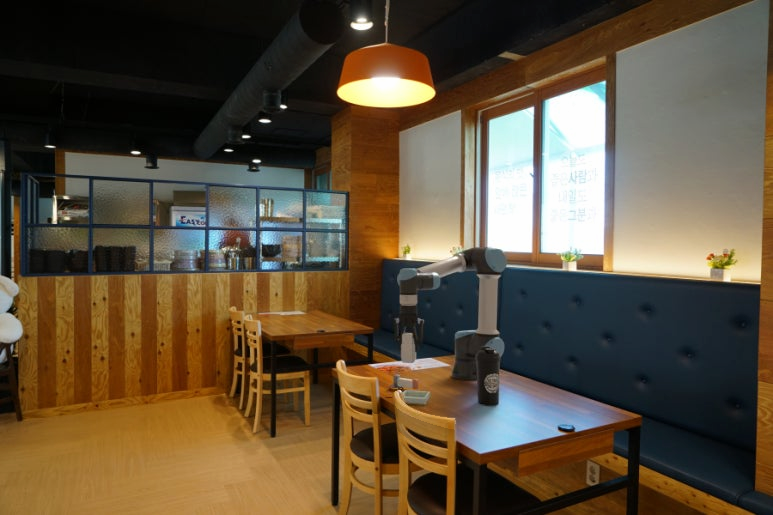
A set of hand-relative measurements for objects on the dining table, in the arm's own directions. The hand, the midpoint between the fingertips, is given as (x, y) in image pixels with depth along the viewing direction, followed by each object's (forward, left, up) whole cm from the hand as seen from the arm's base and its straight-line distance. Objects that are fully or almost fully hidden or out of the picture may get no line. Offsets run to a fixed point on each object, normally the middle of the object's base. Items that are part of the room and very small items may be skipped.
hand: (408, 358), depth 221 cm
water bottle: (-1, +33, -17) cm, 37 cm away
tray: (+2, +3, -17) cm, 17 cm away
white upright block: (0, 0, -1) cm, 1 cm away
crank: (-13, -4, -16) cm, 21 cm away
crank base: (-15, -9, -17) cm, 24 cm away
